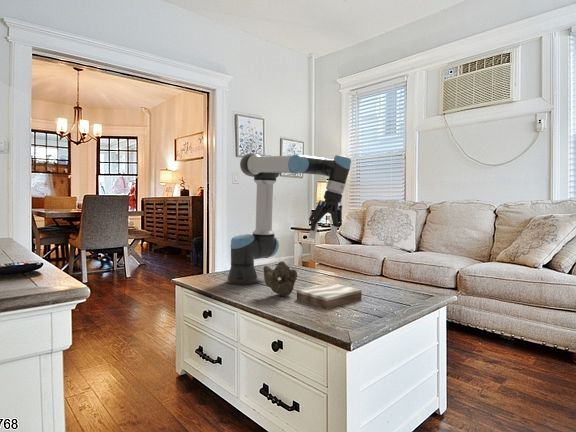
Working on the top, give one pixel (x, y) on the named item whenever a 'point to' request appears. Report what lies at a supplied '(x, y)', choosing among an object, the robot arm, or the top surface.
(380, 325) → the top surface
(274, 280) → the decorative stone
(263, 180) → the robot arm
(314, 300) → the block
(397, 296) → the top surface
